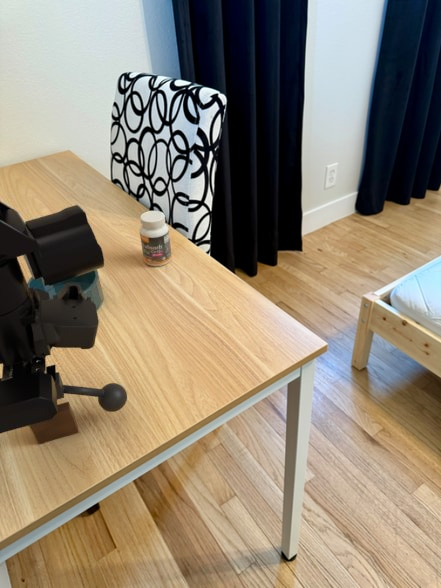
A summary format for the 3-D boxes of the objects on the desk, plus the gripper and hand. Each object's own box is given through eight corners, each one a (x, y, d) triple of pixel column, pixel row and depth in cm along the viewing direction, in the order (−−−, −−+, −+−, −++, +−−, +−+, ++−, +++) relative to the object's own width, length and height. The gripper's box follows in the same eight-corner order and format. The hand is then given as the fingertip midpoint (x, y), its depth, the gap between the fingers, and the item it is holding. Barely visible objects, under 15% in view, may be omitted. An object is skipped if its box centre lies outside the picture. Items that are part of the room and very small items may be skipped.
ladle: (126, 392, 58) (118, 353, 53) (130, 413, 55) (122, 373, 51) (36, 415, 55) (19, 375, 50) (36, 438, 52) (18, 399, 48)
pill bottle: (140, 266, 86) (133, 222, 80) (148, 251, 90) (141, 208, 84) (168, 268, 85) (163, 223, 79) (174, 252, 90) (170, 209, 83)
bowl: (34, 331, 71) (25, 308, 68) (35, 290, 80) (27, 268, 77) (107, 315, 74) (101, 292, 71) (99, 277, 83) (94, 255, 80)
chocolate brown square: (38, 444, 55) (26, 420, 51) (38, 436, 55) (26, 412, 52) (78, 432, 56) (69, 408, 53) (78, 425, 57) (68, 401, 54)
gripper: (92, 341, 37) (123, 445, 46) (77, 237, 51) (103, 334, 60) (-50, 376, 34) (14, 479, 44) (-25, 256, 48) (19, 354, 58)
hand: (44, 400), depth 51 cm, fingers closed on ladle, 2 cm apart
